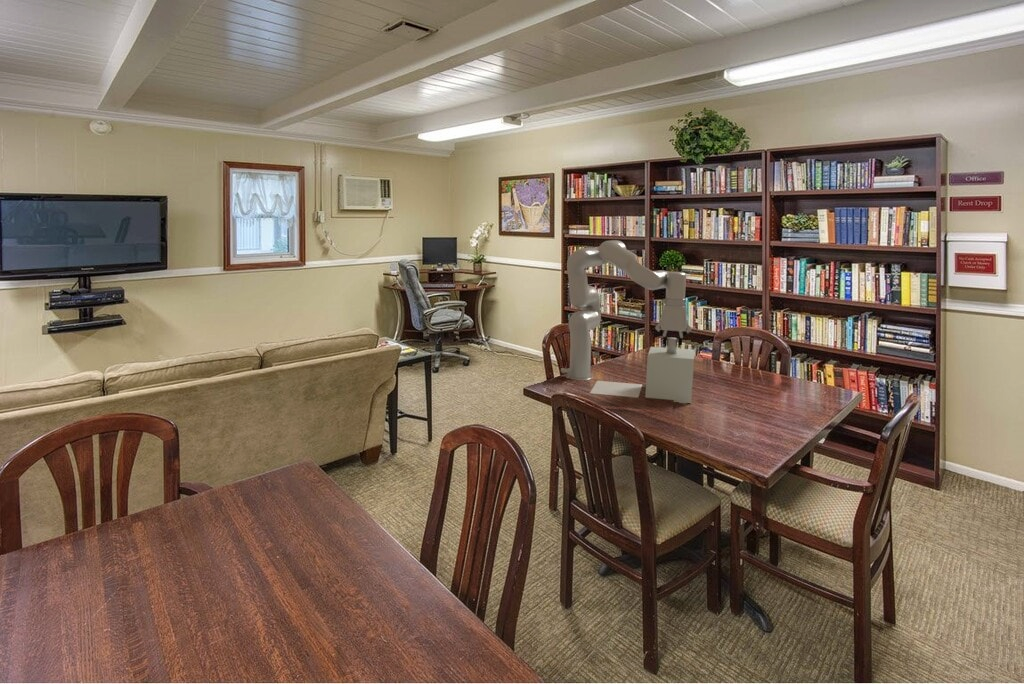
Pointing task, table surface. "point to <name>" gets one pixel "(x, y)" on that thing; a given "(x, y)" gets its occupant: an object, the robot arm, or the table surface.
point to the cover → (670, 373)
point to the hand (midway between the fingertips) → (672, 346)
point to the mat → (617, 389)
